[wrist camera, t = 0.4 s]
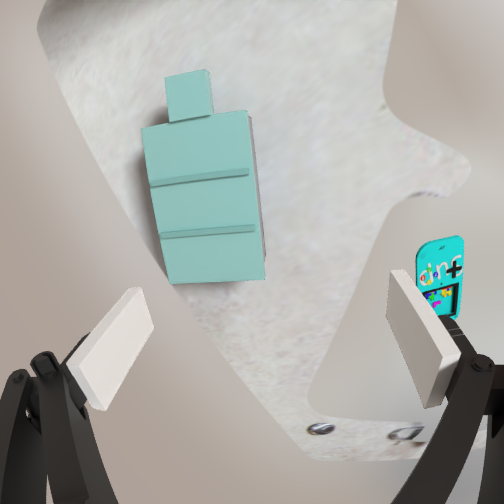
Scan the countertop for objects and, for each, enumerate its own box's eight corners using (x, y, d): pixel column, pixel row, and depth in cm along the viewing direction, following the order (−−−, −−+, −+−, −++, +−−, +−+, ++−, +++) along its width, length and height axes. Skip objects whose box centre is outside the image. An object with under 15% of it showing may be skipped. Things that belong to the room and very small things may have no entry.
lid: (144, 88, 30) (134, 86, 27) (243, 68, 28) (240, 63, 26) (174, 276, 38) (168, 285, 36) (265, 272, 37) (264, 281, 34)
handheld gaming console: (464, 236, 36) (459, 319, 41) (461, 233, 37) (456, 316, 42) (417, 247, 38) (416, 332, 43) (414, 244, 39) (414, 328, 44)
